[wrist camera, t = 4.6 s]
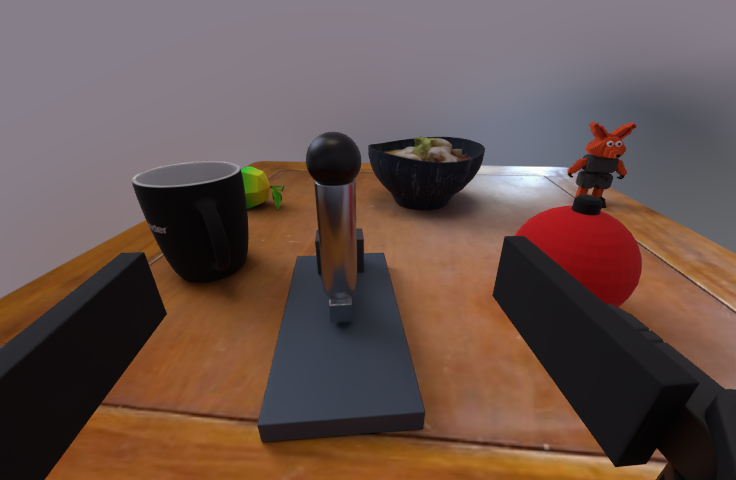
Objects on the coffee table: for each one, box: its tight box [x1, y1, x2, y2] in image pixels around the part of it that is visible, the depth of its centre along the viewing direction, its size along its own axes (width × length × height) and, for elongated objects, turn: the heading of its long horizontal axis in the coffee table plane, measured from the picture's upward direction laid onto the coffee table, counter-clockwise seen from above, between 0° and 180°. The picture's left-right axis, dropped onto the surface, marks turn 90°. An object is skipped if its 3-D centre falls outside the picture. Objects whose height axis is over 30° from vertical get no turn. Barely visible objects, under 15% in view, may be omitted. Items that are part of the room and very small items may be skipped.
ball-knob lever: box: [306, 132, 361, 323], centre depth 25 cm, size 10×3×13 cm, turn 5°
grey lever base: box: [258, 229, 425, 442], centre depth 25 cm, size 18×9×5 cm, turn 5°
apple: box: [241, 166, 284, 210], centre depth 49 cm, size 7×6×9 cm
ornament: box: [515, 195, 642, 307], centre depth 25 cm, size 9×9×10 cm
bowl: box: [368, 137, 485, 210], centre depth 50 cm, size 17×17×10 cm
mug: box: [132, 161, 248, 282], centre depth 30 cm, size 12×9×10 cm
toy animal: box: [568, 122, 636, 208], centre depth 47 cm, size 8×6×12 cm
